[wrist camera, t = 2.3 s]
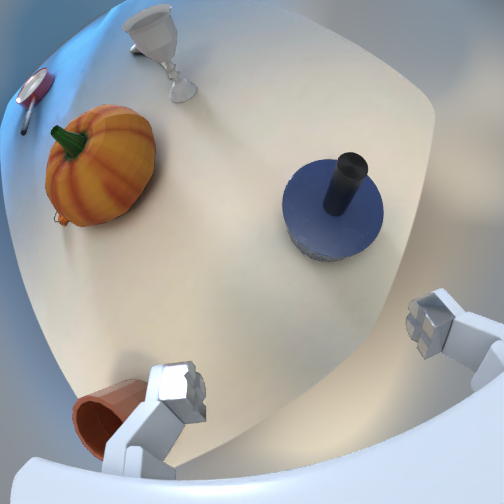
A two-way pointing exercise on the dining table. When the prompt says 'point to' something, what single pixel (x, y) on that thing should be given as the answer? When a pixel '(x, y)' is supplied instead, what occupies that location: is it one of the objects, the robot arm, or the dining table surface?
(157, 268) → the dining table surface
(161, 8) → the chalice
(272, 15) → the dining table surface
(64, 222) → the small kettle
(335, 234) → the lid
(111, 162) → the pumpkin
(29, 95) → the frying pan
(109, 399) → the pot
